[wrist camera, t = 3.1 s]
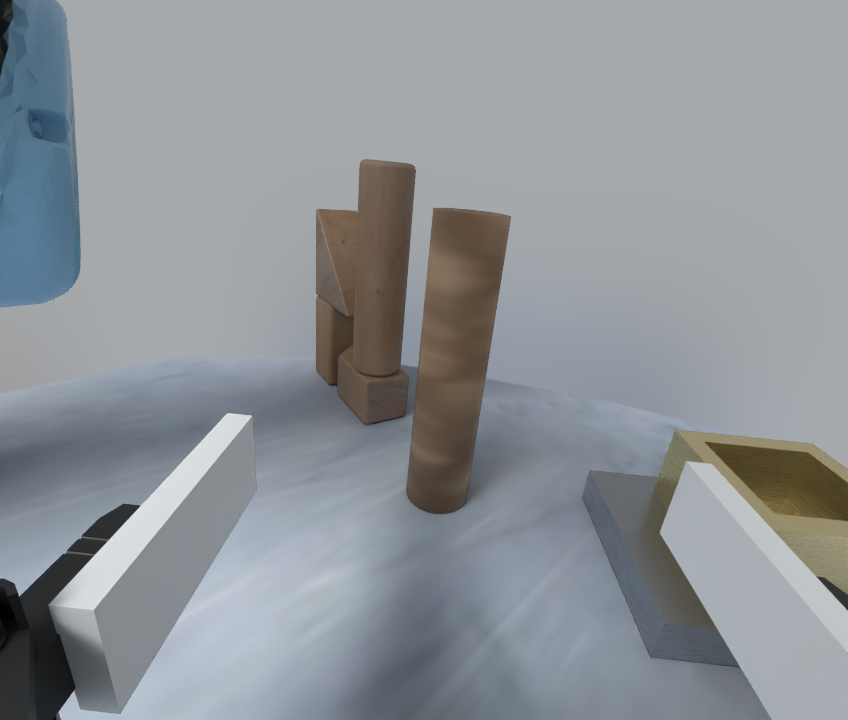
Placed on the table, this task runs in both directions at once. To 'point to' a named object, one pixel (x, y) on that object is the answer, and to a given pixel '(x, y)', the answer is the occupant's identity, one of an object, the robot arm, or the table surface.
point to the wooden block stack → (366, 291)
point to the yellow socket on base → (763, 490)
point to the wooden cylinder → (454, 353)
